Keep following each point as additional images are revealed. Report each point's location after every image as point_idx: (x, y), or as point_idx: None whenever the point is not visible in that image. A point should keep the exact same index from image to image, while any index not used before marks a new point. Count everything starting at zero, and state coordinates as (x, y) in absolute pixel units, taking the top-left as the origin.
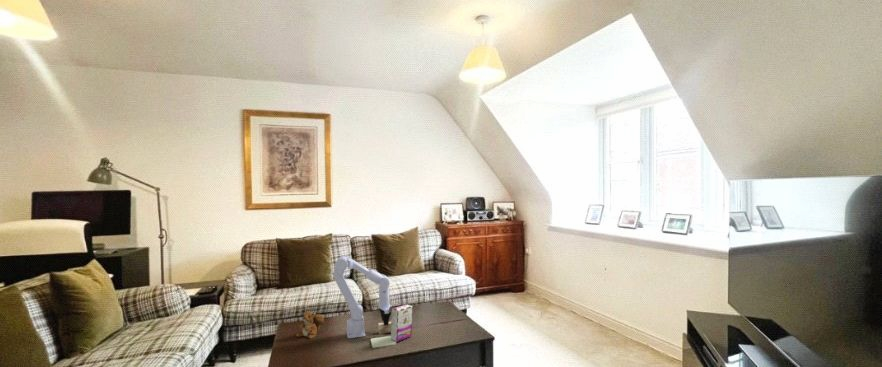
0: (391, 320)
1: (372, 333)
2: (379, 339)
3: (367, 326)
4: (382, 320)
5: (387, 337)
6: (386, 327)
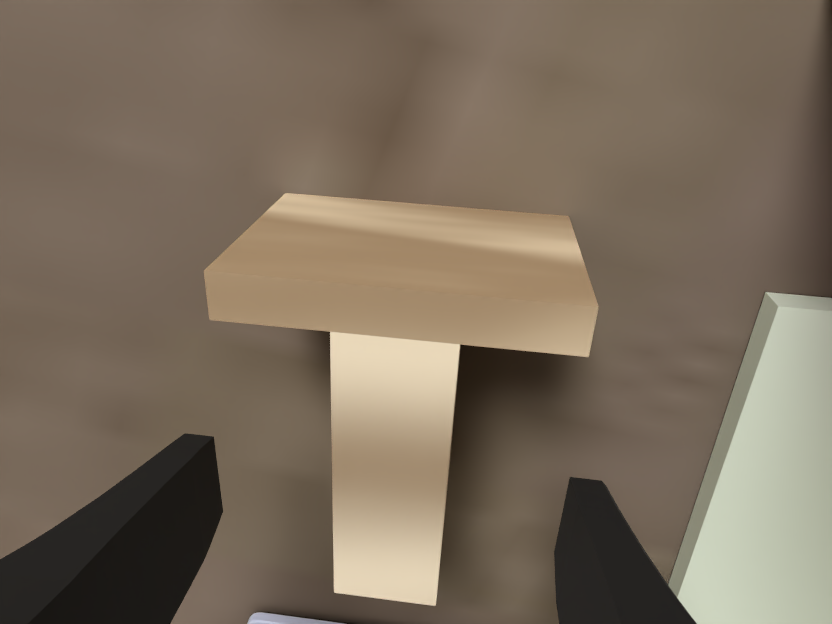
0: (234, 289)
1: None
2: (791, 552)
3: None
4: (220, 510)
5: (798, 422)
6: (454, 407)
